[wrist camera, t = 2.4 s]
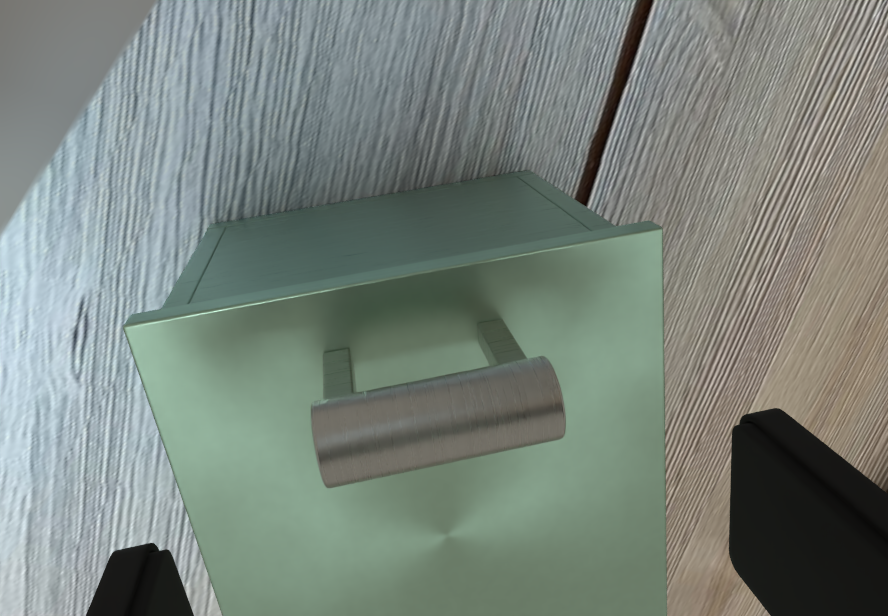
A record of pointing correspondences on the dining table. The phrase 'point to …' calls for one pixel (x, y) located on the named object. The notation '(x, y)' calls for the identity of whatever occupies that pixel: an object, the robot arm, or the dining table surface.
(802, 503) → the robot arm
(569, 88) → the dining table surface
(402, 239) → the trash can
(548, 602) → the bin lid
